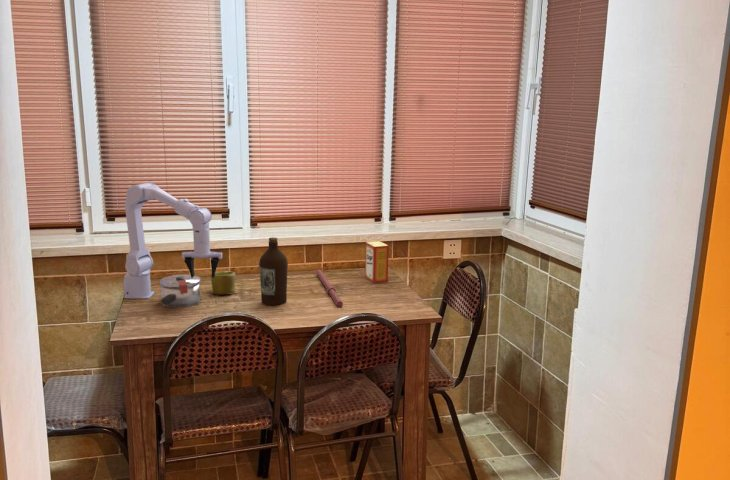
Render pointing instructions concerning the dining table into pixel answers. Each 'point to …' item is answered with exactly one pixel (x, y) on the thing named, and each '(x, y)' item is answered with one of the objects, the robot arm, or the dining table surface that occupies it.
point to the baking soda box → (376, 261)
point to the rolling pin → (329, 288)
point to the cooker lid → (180, 282)
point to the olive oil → (273, 275)
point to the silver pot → (180, 296)
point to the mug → (223, 283)
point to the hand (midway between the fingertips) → (203, 276)
